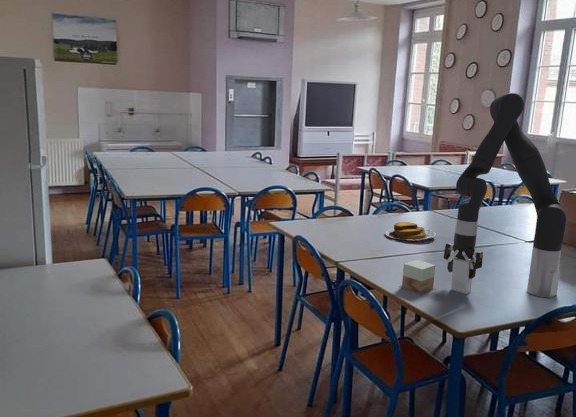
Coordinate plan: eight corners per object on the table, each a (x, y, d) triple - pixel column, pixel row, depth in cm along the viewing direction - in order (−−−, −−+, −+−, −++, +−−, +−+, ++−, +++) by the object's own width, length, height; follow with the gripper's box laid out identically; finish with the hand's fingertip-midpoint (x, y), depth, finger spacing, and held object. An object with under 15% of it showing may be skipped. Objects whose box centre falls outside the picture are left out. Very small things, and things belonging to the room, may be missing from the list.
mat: (436, 289, 196) (436, 288, 196) (420, 295, 189) (420, 294, 189) (414, 282, 203) (414, 281, 203) (397, 287, 197) (398, 286, 197)
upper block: (434, 277, 195) (435, 265, 194) (421, 281, 190) (422, 269, 189) (415, 271, 201) (416, 259, 200) (402, 275, 196) (403, 263, 195)
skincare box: (471, 292, 195) (474, 260, 192) (465, 295, 192) (469, 262, 189) (455, 287, 199) (458, 256, 197) (449, 290, 196) (453, 258, 193)
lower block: (433, 288, 196) (434, 277, 195) (420, 293, 191) (421, 281, 190) (414, 282, 202) (415, 271, 201) (401, 286, 197) (402, 275, 196)
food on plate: (429, 247, 253) (430, 233, 252) (378, 239, 264) (379, 226, 262) (439, 235, 276) (440, 222, 274) (392, 228, 286) (393, 216, 285)
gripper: (489, 235, 188) (483, 278, 192) (454, 226, 199) (449, 267, 203) (478, 238, 184) (472, 282, 187) (442, 228, 194) (438, 271, 198)
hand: (460, 274), depth 195 cm, fingers open, 8 cm apart
